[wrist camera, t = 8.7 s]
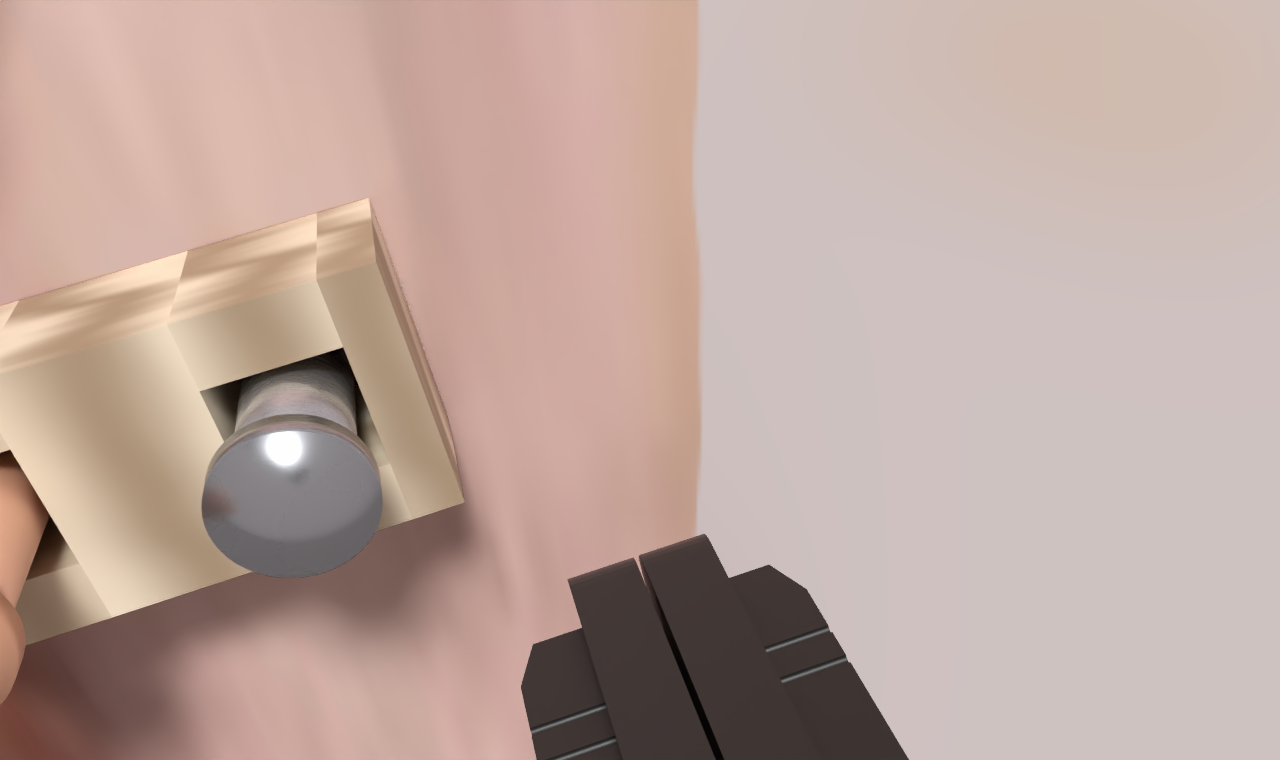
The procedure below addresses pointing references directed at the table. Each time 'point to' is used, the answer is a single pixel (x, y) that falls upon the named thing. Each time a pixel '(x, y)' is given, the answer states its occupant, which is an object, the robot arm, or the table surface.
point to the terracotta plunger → (15, 560)
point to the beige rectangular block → (199, 402)
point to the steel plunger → (294, 473)
